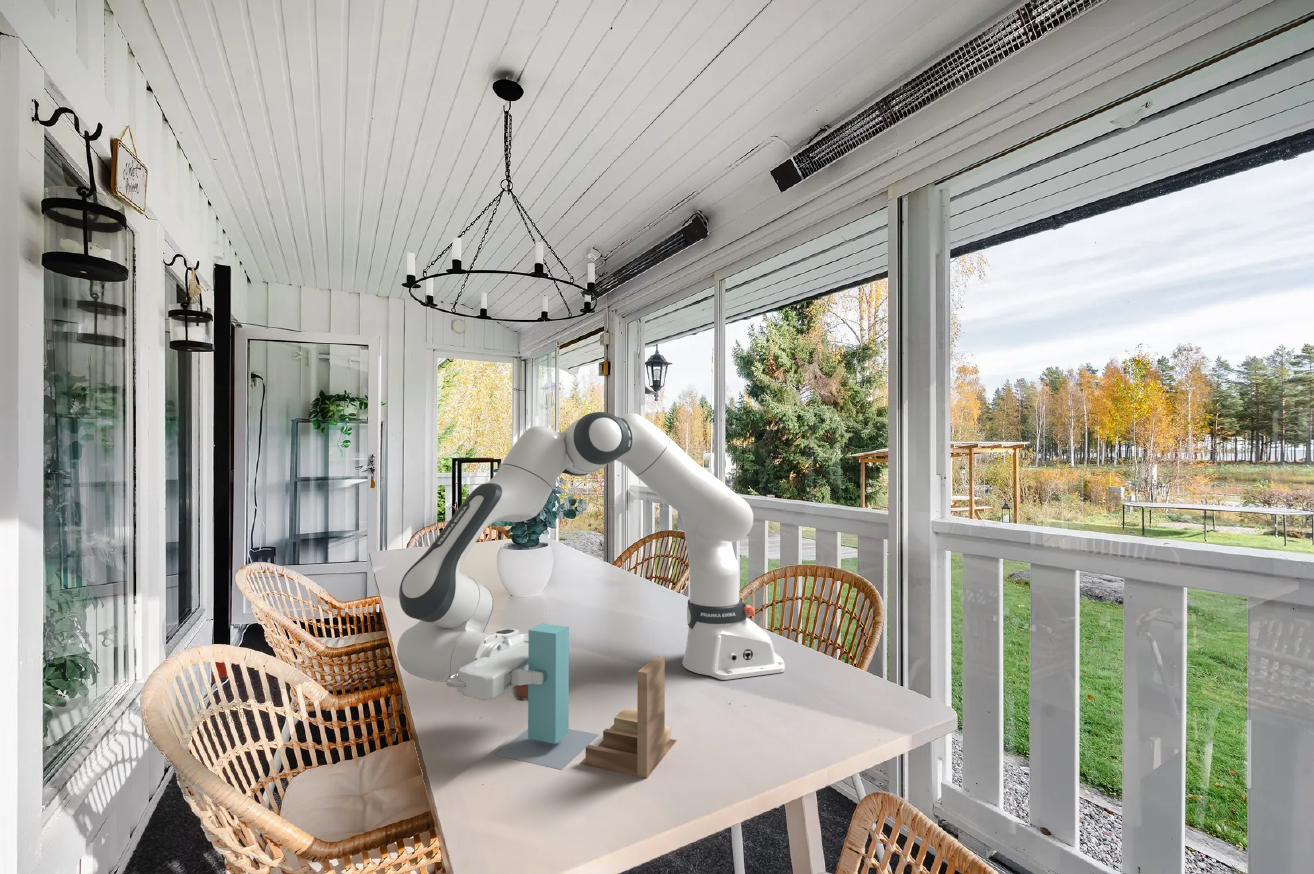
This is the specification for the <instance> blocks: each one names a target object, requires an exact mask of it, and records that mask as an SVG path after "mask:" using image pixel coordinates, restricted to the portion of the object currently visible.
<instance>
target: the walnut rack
mask: <svg viewBox="0 0 1314 874" xmlns="http://www.w3.org/2000/svg"><path fill="white" fill-rule="evenodd" d="M665 660H666V658H665V657H661V656H654V657H653V658H652V659H651V660H649V661H648V662H647V663H645V665H644V666H642V667H641V668H640V669H639V670H638V671H637V681H636V682H637V688H636V689H637V699H636V700H637V703H636V704H637V707H636V708H637V709H636V710H637V734H632V733H627V732H621V731H616V730H611V729H609V728H605V729H604V730H603V731H602V741H601V742H600V743H598V745H593V744H589V745H588V746H587V747H586V748H585V758H583V759H582V760H581V761H580V762H579V765H583V766H588V767H592V768H596V769H601V770H606V771H610V772H611V771H612V772H616V773H619V774H623V775H624V774H625V775H629V776H632V777H633V776H634V777H638V778H642V779H648V778H649V776H650V775H651V774H652V773H653V771H654V770H655V769H656V768H657V766H658V765H659V763H661V761H662V760H663V759H664V758H665V756H666V755H667V753H668V752H669V751H670V750H671V749H672V747H674V745H675V743H676V742H677V741H678V740H677V739H674V738H673V739H672V738H671V740H670V741H669V742H668V743H667V745H666V746H665V726H666V725H665V723H666V721H665V716H666V715H665V711H666V710H665V709H666V708H665V707H666V706H665V704H666V703H665V700H666V698H665V689H666V687H665V686H666V685H665V682H666V678H665V676H666V675H665V674H666V673H665V672H666V671H665V669H666V668H665V666H666V663H665V662H666V661H665Z"/></svg>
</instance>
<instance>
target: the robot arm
mask: <svg viewBox="0 0 1314 874" xmlns="http://www.w3.org/2000/svg"><path fill="white" fill-rule="evenodd" d="M615 461H617V462H618V463H619V462H620V463H621V464H622V465H624V466H626V467H627V469H628V470H629V471H630V472H631V473H633V474H634V476H636V477H637V478H638V479H639V480H640V481H641V482H642V483H643V484H644V485H645V486H647V487H648V488H649V490H651V491H652V492H653V493H654V494H655V495H657V496H658V497H659V498H660V499H661V500H662V501H664V503H666V504H667V505H669V506H670V507H672V508H673V509H674V510H676V511H677V512H678V513H679V515H680V519H681V520H682V524H683V531H684V532H683V533H684V539H685V544H686V546H685V547H686V551H687V557H688V565H689V568H688V570H689V598H688V600H687V606H686V623H687V626H688V628H687V629H688V632H687V638H686V639H687V641H686V646H685V650H684V655H683V658H682V662H681V665H682V667H684V668H685V669H686V670H688V671H689V672H692V673H696V674H700V675H705V676H710V677H713V678H715V679H718V680H722V681H725V680H733V679H740V678H742V679H743V678H748V677H756V676H763V675H771V674H772V675H773V674H779V673H783V672H784V671H786V665H785V661H784V660H783V658H782V657H781V656H780V655H779V654H778V653H776V652H775V648H774V644H773V641H772V639H771V637H770V635H769V634H768V633H767V632H766V631H765V630H763V628H761V627H760V626H759V625H758V624H756V623H755V622H754V621H752V619H750V618H748V616H749V617H751V616H753V615H754V614H755V608H753V606H751V605H750V604H747V603H746V602H744V601H743V600H740V565H739V562H738V560H737V558H736V555H735V551H734V547H733V546H734V545H733V543H735V542H738V541H741V540H743V539H744V538H747V536H748V535H749V533H751V530H752V528H753V525H754V512H753V510H752V508H751V506H750V504H749V503H748V502H747V501H746V500H745V499H744V498H742V497H741V496H740V495H739V494H737V493H736V492H734V490H732V489H731V488H730V487H729V486H727V485H726V484H725V483H724V482H722V481H721V480H720V479H718V478H717V477H716V476H714V474H712V473H711V472H709V471H708V470H706V469H705V467H702V466H701V465H700V464H699V463H697V462H696V461H695V460H694V459H692V457H691V456H689V454H687V453H686V451H684V450H683V448H681V447H680V446H679V445H678V444H677V443H676V442H675V441H673V439H671V437H669V435H667V434H666V433H665V432H664V431H662V430H661V429H660V428H659V427H658V426H656V425H655V424H654V423H653V422H651V421H649V420H648V419H646V418H645V417H643V416H641V415H640V414H638V413H635V412H629V413H626V414H623V415H620V416H615V415H614V414H611V413H608V412H605V411H594V412H590V413H586V414H585V415H583V416H582V417H580V418H578V419H577V420H575V421H573V422H572V423H571V424H569V426H568V427H566V428H565V429H564V430H562V432H559V431H555V430H554V429H552V428H551V427H547V426H542V425H535V426H531V427H529V428H527V429H526V430H525V431H524V432H523V434H521V436H519V438H518V439H517V440H516V442H515V443H514V444H513V446H512V447H511V449H510V450H509V452H508V453H507V455H506V457H505V458H504V459H503V461H502V463H501V465H500V467H499V468H498V470H497V471H496V473H495V474H494V475H493V477H492V478H491V479H490V480H489V481H487V482H485V483H482V484H480V485H478V486H477V487H475V489H474V490H473V491H472V492H471V493H470V494H469V495H468V496H467V497H466V498H465V500H464V501H463V502H462V503H461V504H460V506H459V507H458V509H457V510H456V511H455V513H454V514H453V515H452V516H451V518H450V520H449V521H448V522H447V524H446V525H444V528H443V529H442V530H441V531H440V533H439V534H438V535H437V537H436V539H434V541H433V542H432V544H431V545H430V546H429V548H428V549H427V550H426V551H425V552H424V553H423V554H422V556H421V557H419V559H417V561H415V562H414V564H412V565H411V566H410V567H409V569H407V571H406V572H405V573H404V576H403V577H402V579H401V582H400V585H399V593H398V594H399V595H398V596H399V598H398V599H399V605H400V608H401V610H402V611H403V613H404V614H405V615H406V616H408V617H409V618H412V619H415V620H418V622H417V623H416V624H415V625H412V626H411V627H409V628H407V629H406V630H405V631H404V632H403V633H402V634H401V635H400V637H399V640H398V642H397V647H396V648H397V649H396V654H397V655H396V657H397V660H398V662H399V665H400V666H401V667H402V669H403V670H404V671H405V672H407V673H408V674H409V675H410V676H411V675H412V676H414V677H417V678H420V679H422V680H427V681H432V682H437V683H445V684H446V686H448V687H450V688H456V689H457V692H458V693H459V694H461V695H463V696H467V697H469V698H473V699H476V700H479V701H491V700H494V699H496V698H498V697H499V696H501V695H503V694H504V693H507V692H508V691H510V690H511V689H512V688H514V687H516V685H527V684H537V685H541V684H542V683H544V682H545V681H546V680H547V677H546V675H547V673H546V671H545V670H539V669H536V670H535V671H529V670H528V644H529V632H527V633H523V632H522V633H520V630H519V629H515V628H507V629H503V630H498V631H497V630H496V631H492V632H491V631H489V632H488V631H486V628H487V625H488V623H489V621H490V618H491V616H492V613H493V610H494V598H493V595H492V591H491V590H490V588H488V587H487V586H486V585H484V584H482V583H480V582H479V581H478V580H476V579H474V578H472V577H470V576H468V575H466V574H465V573H463V572H461V565H462V564H463V563H462V562H463V561H464V560H465V558H466V557H467V555H468V554H469V553H470V551H471V550H472V548H473V547H474V545H475V543H477V541H478V539H479V538H480V536H481V535H482V534H483V532H484V531H485V530H486V529H487V528H488V527H489V526H490V525H492V524H494V523H496V522H508V523H509V522H510V523H519V522H520V523H521V522H524V521H525V522H527V521H528V520H531V519H534V518H535V517H537V515H538V514H539V513H540V512H541V511H542V510H543V508H545V505H546V503H547V501H548V500H549V497H550V495H551V494H552V491H553V490H554V487H555V486H556V482H557V481H558V478H559V477H560V476H561V474H566V475H569V476H573V477H583V476H586V475H589V474H592V473H595V472H598V471H600V470H601V469H603V468H605V467H606V466H607V465H608V464H610V463H612V462H615Z"/></svg>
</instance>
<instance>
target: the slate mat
mask: <svg viewBox="0 0 1314 874" xmlns="http://www.w3.org/2000/svg"><path fill="white" fill-rule="evenodd" d="M599 736H600V734H598V733H592V732H587V731H583V730H577V729H571V728H568V734H566V735H565V736H564V737H563V738H562V739H560V740H559V741H558V742H557V743H556V744H554V743H549V742H545V741H540V740H535V739H530V738H528V729H526V730H525V731H523V732H521V734H520V735H518V736H517V737H516V738H514V739H513V740H511V741H510V742H509V743H507V744H506V745H504V746H503V747H502V748H500V749H499V750H498V751H497V752H495V753H494V754H493V755H494V756H498V757H502V758H507V759H512V760H516V761H520V762H525V763H530V764H533V765H538V766H543V767H547V768H552V769H556V770H559V771H563V769H564V768H566V767H567V766H568V765H569V764H570V763H571V762H572V761H573V760H574V759H575V758H576V757H577V756H578V755H579V754H580V753H581V752H583V750H586V747H587V746H588V745H591V743H592V742H594V740H595V739H596V738H598V737H599Z"/></svg>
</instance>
